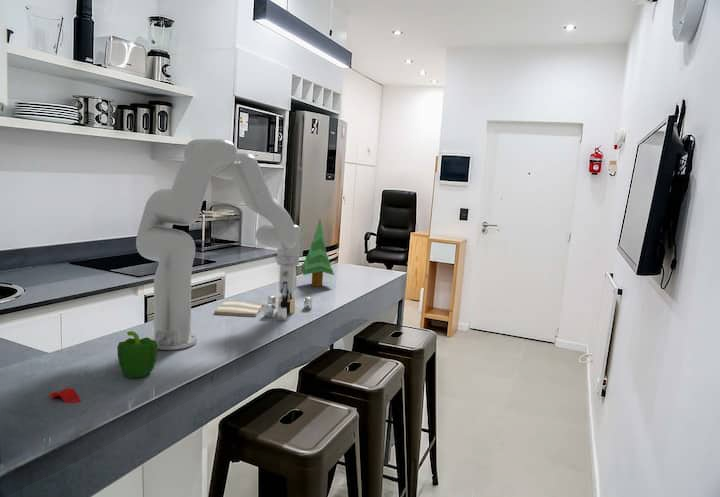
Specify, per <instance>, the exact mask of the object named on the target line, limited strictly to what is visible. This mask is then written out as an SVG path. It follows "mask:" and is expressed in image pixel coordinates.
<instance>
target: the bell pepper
mask: <svg viewBox="0 0 720 497" xmlns="http://www.w3.org/2000/svg"><path fill="white" fill-rule="evenodd" d="M126 334H127V335H128V336H129V338H127V339H126V340H125V341H119V343H118V345H117V357H118V362H119V366H120V369H121V372H122V373H123V374H124V375H126V376H127V377H128V378H134V379H137V378H143V377H145V376H147V375H148V374H149V373H151V372H152V371H153V370H154V368H155V365H156V360H157V356H158V349H157V343H156V341H152V340H151V339H149V338H150V337H143V338H141V339H140V336H139V334H137V332H135V331H133V330H131V331H128V332H127V333H126ZM130 336H132V337H133V338H131V337H130Z"/></svg>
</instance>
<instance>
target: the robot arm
mask: <svg viewBox="0 0 720 497" xmlns="http://www.w3.org/2000/svg"><path fill="white" fill-rule="evenodd" d="M183 156H184V160H183V161H182V162H181V164H180V165H179V167H178V170H177V172H176V176H175V178H174V181H173V184H172V185H171V188H170V189H169V188H160V189H157V190H156V191H154V192H153V193H152V194H150V196H149V197H148V199H147V202H146V203H145V207H144V208H143V213H142V216H141V220H140V223H139V227H138V230H137V235H136V238H135V240H136V241H135V245H136V246H135V247H136V250H137V252H138V254H139V255H140V256H141V257H143V258H144V259H147V260H150V261H154V262H158V265H157V268H156V271H155V274H154V277H153V278H154V279H153V335H151V336H150V337H148V338H149V339H151V340H152V341H156V343H157V350H160V351H161V350H163V351H174V350H175V351H177V350H182V349H183V350H184V349H187V348H189V347H192V346H193V345H195V344H196V343H197V336H196V335H195V334H193V333H192V332H191V331H192V330H191V329H192V328H191V327H192V326H191V325H192V324H191V323H192V321H191V320H192V272H193V264H194V259H195V257H196V256H195V254H196V244H195V241H194V239H193V237H192V236H191V235H190V234H189V233H187V232H186V231H184V230H180V229H176V228H173V226H174V225H176V226H183V227H184V226H191V225H194V224H195V222H197V221H198V218H199V216H200V213H201V209H202V206H203V203H204V198H205V195H206V192H207V189H208V185H209V182H210V180H212V178H213V177H215V178H219V179H221V180H230V181H234V182H235V184H236V186H237V188H238V191H239V193H240V195H241V198H242V200H243V202H244V205H245V206H246V207H247V208H249V209H250V210H251V211H253V212H254V213H256V214H258V215H260V216H262V217H263V218H264V219H265V220H267V221H269V224H267V223H266V224H263V225H261V226H259V227H258V229H257V230H256V231H255V238H256V241H257V242H258V244H260V245H261V246H263V247H266V248H267V247H268V248H275V249H277V256H276V257H277V258H276V264H277V266H279V279H278V280H279V282H278V283H279V284H278V286H279V290H278V291H279V294H281V295H280V297H281V307H286V308H287V315H290V314H289V313H290V302H289V299H290V296H292V294H295V292H296V290H297V266H299V264H300V247H301V245H300V244H301V227H300V226H299V225H297V224H294V221H293V219H292V217H291V215H290V213H289V212H288V211H287V210H286V208H285V207H284V206H283V205H282V204H281V203H280V202H279V201H278V200H277V199H276V198H275V197H274V196H273V195H272V194H271V193H270V190H269V188H268V185H267V183H266V180H265V177H264V174H263V172H262V169H261V167H260V165H259V162H258V161H257V159H256V157H255V156H253V155H252V154H250V153H246V152H238V150H237V146H235V144H234V143H233V142H232V141H230V140H227V139H224V138H223V139H221V138H218V139H217V138H210V139H208V138H206V139H204V138H200V139H199V138H197V139H193V140H190V141H189V142H187V144H186V145H185V147H184V149H183ZM287 296H288V297H287Z"/></svg>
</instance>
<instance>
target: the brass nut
mask: <svg viewBox="0 0 720 497" xmlns="http://www.w3.org/2000/svg"><path fill="white" fill-rule="evenodd" d="M287 297H288V296H287ZM277 300H278V301H277V306H278V307H281V296H279V297H278V299H277ZM289 302H290V313H289V314H288V315H290V314H294V313H295V306H296V305H295V303H296V298H295V297H294V298H293V297H292V296H290V299H289ZM278 307H277V308H278Z"/></svg>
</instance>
